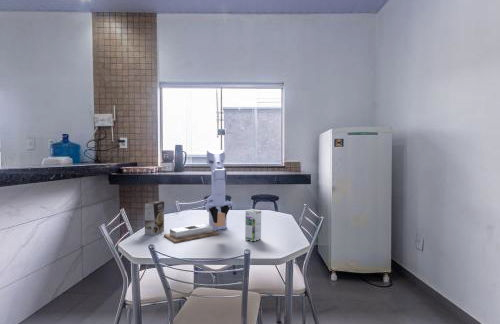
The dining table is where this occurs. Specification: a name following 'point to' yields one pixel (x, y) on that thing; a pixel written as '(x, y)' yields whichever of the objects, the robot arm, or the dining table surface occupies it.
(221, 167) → the robot arm
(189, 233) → the white square hole block
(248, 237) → the syrup box
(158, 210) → the coffee box
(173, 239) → the board
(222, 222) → the peg
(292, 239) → the dining table surface
